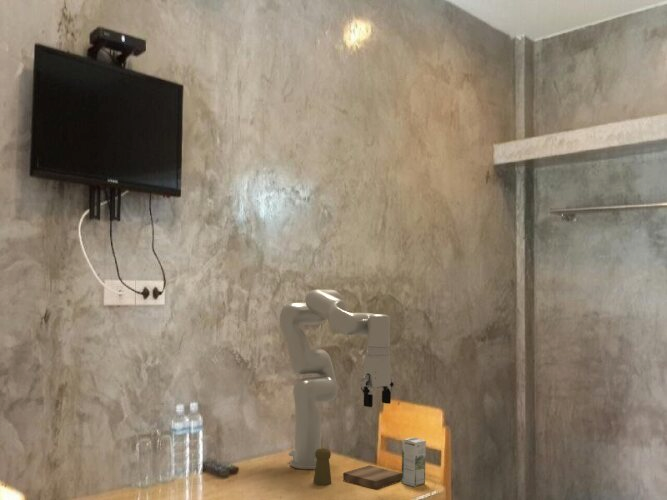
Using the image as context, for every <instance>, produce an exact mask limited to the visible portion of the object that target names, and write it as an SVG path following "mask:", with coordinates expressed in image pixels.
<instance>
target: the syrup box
mask: <svg viewBox="0 0 667 500" xmlns="http://www.w3.org/2000/svg"><path fill="white" fill-rule="evenodd" d="M426 441H427V440H425V439H422V438H419V437H409V438H405V439H402V441H401V442H402V443H401V448H402V449H401V473H402V480H401V481H400V482H401V484H402V483H403V485H407V486H410V487H419V486H422V485H424V484H426V455H427V454H426V452H427V451H426V447H427V442H426Z"/></svg>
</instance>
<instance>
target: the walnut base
mask: <svg viewBox="0 0 667 500" xmlns="http://www.w3.org/2000/svg"><path fill="white" fill-rule="evenodd" d="M342 474H343V475H342V476H343V478H342V479H343V481H344V480H345V482H347V481H349V482H348V483H351V482H353V483H352V484H354V483H356V485H358V484H360V485H359V486H362V485H363V486H362V487H366V488H370V489H373V490H379V489H380V488H381V489H382V488H384V487H386V485H387V486H389V484H390V485H393V484H396V483H398V481H399V482H401V480H402V472H399V471H394V470H391V469H387V468H382V467H380V466H374V465H369V464H368V465H365V466H362V467H360V468H355V469H351V470H348V471H345V472H343V473H342ZM395 482H396V483H395ZM392 483H393V484H392ZM383 486H384V487H383Z"/></svg>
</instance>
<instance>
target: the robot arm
mask: <svg viewBox="0 0 667 500" xmlns="http://www.w3.org/2000/svg"><path fill="white" fill-rule="evenodd" d="M304 299H305V300H304V302H291V303H288V304H286V305H284V306H283V307H282V309H281V310H280V314H279V327H280V330H281V333H282V335H283V338H284V340H285V343H286V347H287V351H288V357H289V361H290V365H291V369H292V372H293V373H294V374H295V375H297V376H312V375H313V376H312V377H305V378H301V379H299V380H297V381H296V382H295V383H294V384H293V390H292V394H293V401H294V408H295V410H294V412H295V413H294V414H295V417H294V419H295V421H294V422H295V423H294V425H295V428H294V430H295V431H294V449H292V450H291V451H290V452H288V456H289V457H292V460H291V461H290V462H289V463H290V466H291V467H292V468H294V469H298V470H315V468H316V462H317V459H316V457H315V453H316V450H317V449H321V448H322V447H321V446H322V415H321V411H320V409H319V407H318V405H317V404H321V403H329V402H333V401H334V400H335V399H336V398H337V396H338V392H339V388H338V381H337V379H336V373H335V370H334V366H333V363H332V358H331V357H330V355H329V353H328V352H327V351H326V350H324V349H321V348H317V349H316V348H315V349H313V348H312V347H311V344H310V340H309V337H308V334H306V332H305V331H304V329H302V328H301V326H310V325H311V326H315V325H316V326H317V325H320V324H322V323H324V322H326V321H328V324H329V326H330V327H331V328H332V329H333V330H335V331H337V332H339V333H341V334H342V335H346V336H366V355H365V358H364V362H363V367H362V368H363V369H362V379H360V380H359V384H360V389H361V391H362V394H363V406H364V407H366V408H372V407H373V403H374V402H373V399H374V396H373V391H374V389H379V388H382V390H381V403H383V404H388V405H390V404H391V401H392V400H391V398H392V397H391V396H392V394H391V393H392V391H393V386H394V381H395V375H392V367H391V365H392V364H391V355H390V354H391V350H390V349H391V348H390V347H391V318H390V315H387V314H381V313H378V314H377V313H371V312H348V311H347V304H346V302H345V301H344V300H343V299H344V298H343V297H342V295H341V293H340V292H338V290H334V289H317V288H316V289H313V290H310V291H309V292H308V293H307V294H306V296H305V298H304ZM314 375H315V376H314Z"/></svg>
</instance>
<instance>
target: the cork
mask: <svg viewBox="0 0 667 500" xmlns="http://www.w3.org/2000/svg"><path fill="white" fill-rule="evenodd" d="M331 456H332V453H331V451H330V449H328V448H325V447H324V448H322V447H321V449H317V450H316V453H315V457H316V459H317V462H316V468H315V469H314V470H315V471H314V477H313V484H314V485H317V486H329V485H331V484H332V483H333V482H332V475H331V466H330V459H331Z"/></svg>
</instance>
